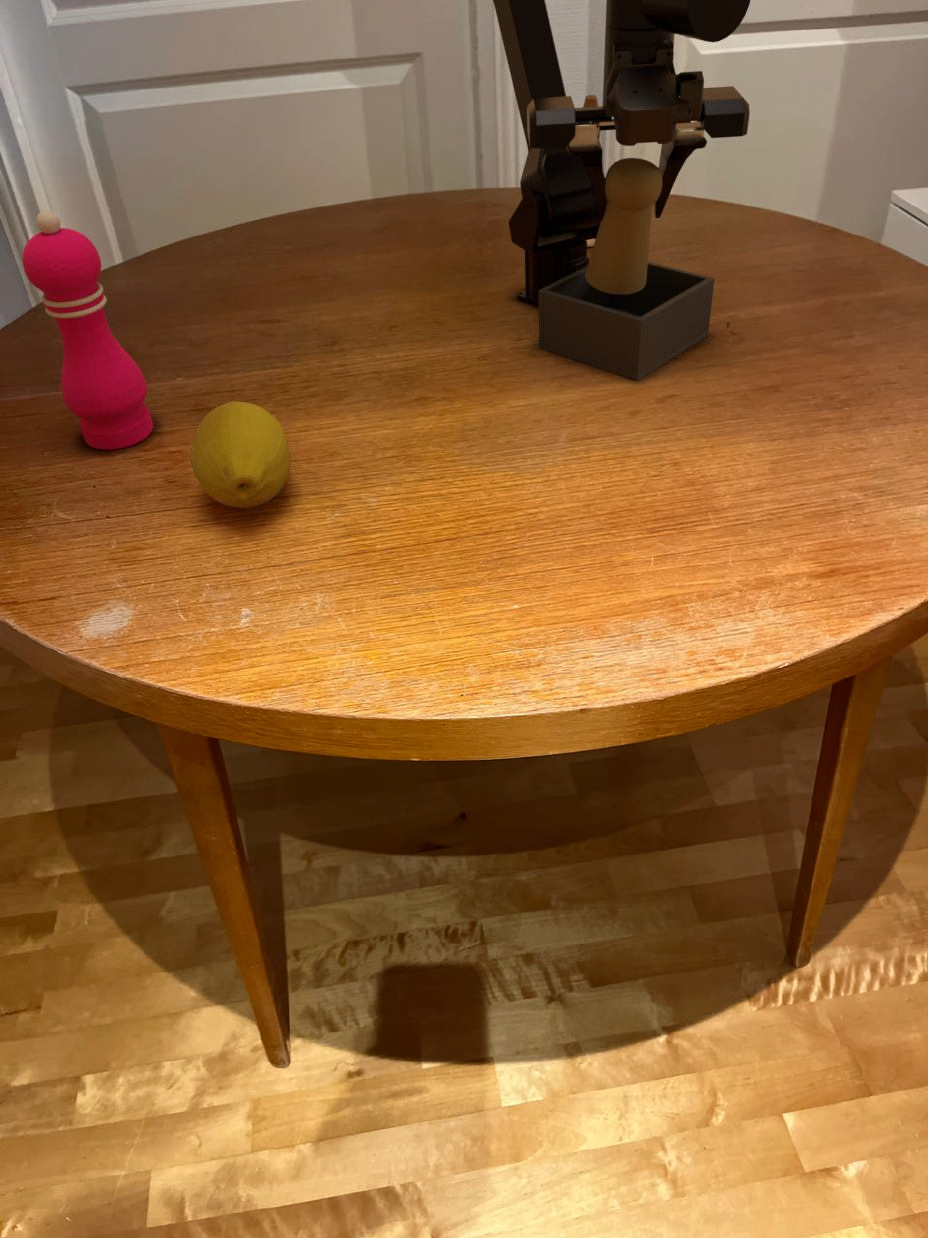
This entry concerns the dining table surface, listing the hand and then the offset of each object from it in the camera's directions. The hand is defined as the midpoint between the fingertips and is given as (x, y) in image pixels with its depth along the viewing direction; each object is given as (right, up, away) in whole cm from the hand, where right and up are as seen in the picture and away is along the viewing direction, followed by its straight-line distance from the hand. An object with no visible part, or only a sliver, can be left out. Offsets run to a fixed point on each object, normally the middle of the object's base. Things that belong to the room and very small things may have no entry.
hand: (629, 218), depth 88 cm
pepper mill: (-48, -20, 0) cm, 52 cm away
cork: (-1, -4, +4) cm, 6 cm away
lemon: (-33, -28, -10) cm, 44 cm away
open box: (+1, -9, +8) cm, 12 cm away
